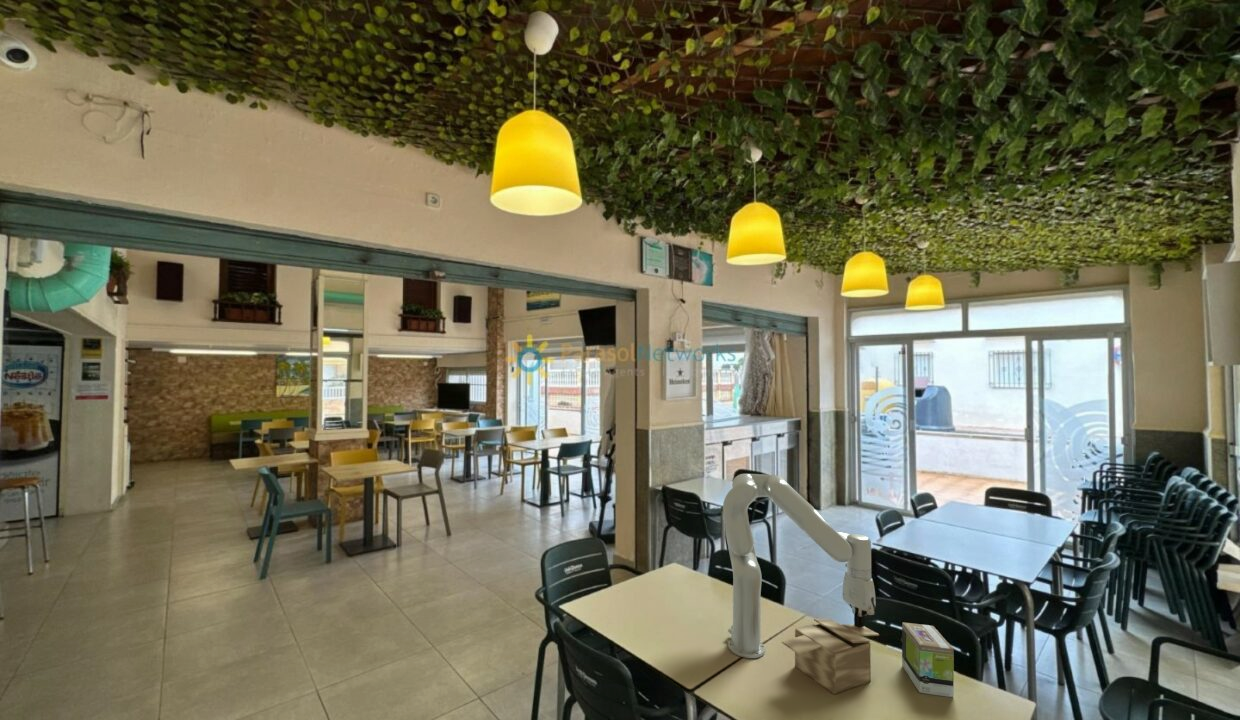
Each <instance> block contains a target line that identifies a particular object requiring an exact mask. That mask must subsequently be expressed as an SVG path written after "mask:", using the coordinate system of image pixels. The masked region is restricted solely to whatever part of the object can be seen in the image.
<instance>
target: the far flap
mask: <svg viewBox="0 0 1240 720" xmlns="http://www.w3.org/2000/svg"><path fill="white" fill-rule="evenodd" d="M813 621H815V622H816V623H817V624H818V623H819V624H821V625H823V626H824V627H826V628H828V629H830V630H831V631H833V632H835V633H836V634H838V635H840V636H842V637H843V638H845V639H847V640H848V641H850V642H852V643H867V642H869V643H870V639H867V638H866V637H875V636H876V637H878V636H880V634H879V633H878V632H876V631H874V630H872V629H870V628H868V627H866V626H864V627H861V628H858V627H857V626H854V624H840V623H839V622H838V621H835V620H833V619H831V618H814V619H813Z"/></svg>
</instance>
